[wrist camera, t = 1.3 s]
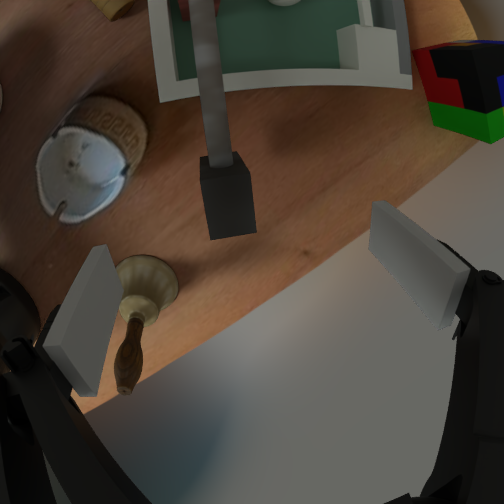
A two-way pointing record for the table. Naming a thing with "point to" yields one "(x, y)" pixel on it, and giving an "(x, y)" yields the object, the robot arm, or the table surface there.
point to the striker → (218, 132)
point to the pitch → (286, 45)
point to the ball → (284, 2)
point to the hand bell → (140, 311)
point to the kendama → (113, 7)
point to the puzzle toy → (465, 86)
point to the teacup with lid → (0, 97)
